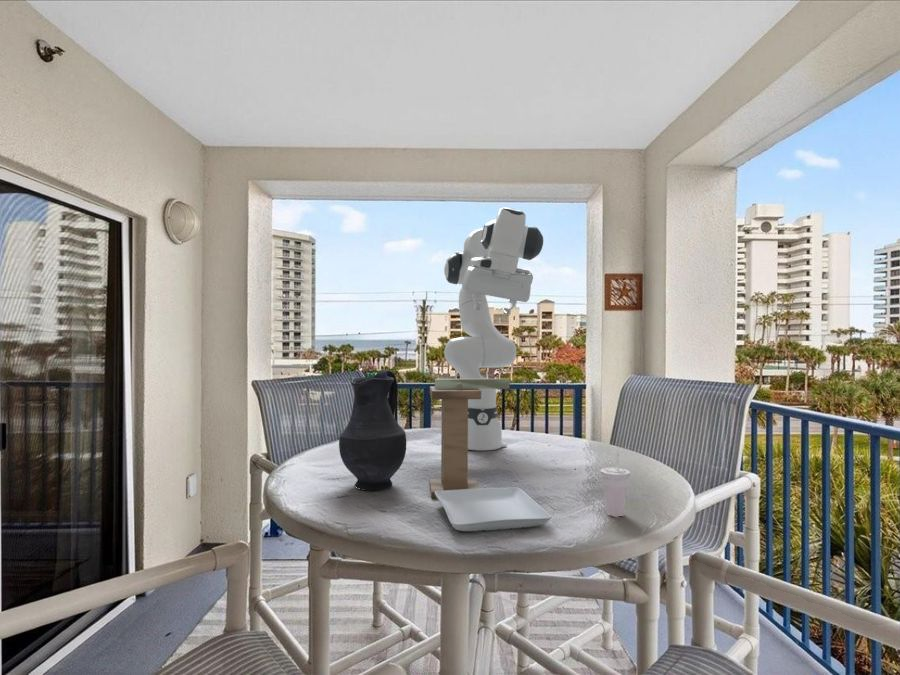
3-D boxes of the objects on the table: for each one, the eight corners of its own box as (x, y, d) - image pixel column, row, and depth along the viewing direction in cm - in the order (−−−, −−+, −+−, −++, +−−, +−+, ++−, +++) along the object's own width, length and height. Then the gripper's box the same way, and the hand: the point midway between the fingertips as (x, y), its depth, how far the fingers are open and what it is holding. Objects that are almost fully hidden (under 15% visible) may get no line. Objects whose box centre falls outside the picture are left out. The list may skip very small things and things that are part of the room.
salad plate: (554, 532, 105) (554, 515, 105) (452, 540, 100) (452, 522, 100) (518, 499, 125) (518, 485, 125) (433, 505, 121) (433, 490, 121)
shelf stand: (429, 483, 137) (429, 380, 136) (474, 483, 138) (474, 380, 137) (431, 498, 125) (432, 385, 124) (480, 497, 126) (481, 384, 125)
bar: (434, 388, 132) (434, 378, 132) (507, 387, 133) (507, 378, 133) (435, 389, 129) (435, 379, 129) (509, 388, 131) (509, 379, 131)
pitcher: (326, 491, 130) (326, 372, 129) (367, 471, 149) (367, 367, 149) (387, 499, 124) (388, 374, 123) (422, 477, 143) (422, 369, 143)
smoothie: (631, 520, 110) (632, 455, 110) (600, 518, 112) (601, 453, 112) (627, 510, 117) (628, 449, 117) (598, 508, 118) (598, 447, 118)
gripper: (530, 270, 154) (520, 315, 156) (465, 257, 148) (456, 304, 150) (538, 272, 148) (528, 319, 150) (472, 259, 142) (462, 308, 144)
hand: (491, 312), depth 150 cm, fingers open, 8 cm apart
